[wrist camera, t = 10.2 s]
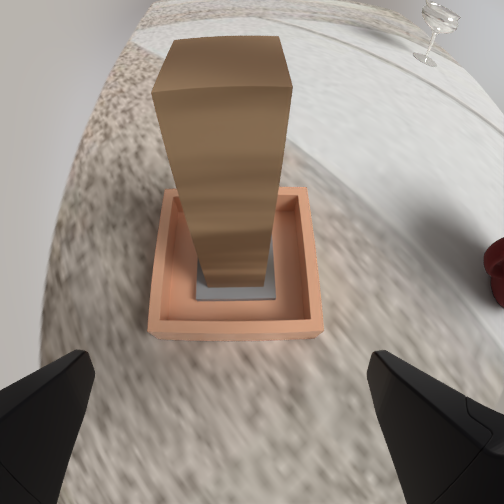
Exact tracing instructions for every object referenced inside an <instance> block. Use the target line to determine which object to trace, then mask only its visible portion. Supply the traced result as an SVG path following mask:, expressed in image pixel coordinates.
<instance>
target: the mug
mask: <svg viewBox="0 0 504 504" xmlns="http://www.w3.org/2000/svg"><path fill="white" fill-rule="evenodd" d="M484 267H485V270H486V272H487V273H488V274H489V275H490V276H491V288H492V292H493V295H494V297H495V299H496V301H497V302H498V303H499V304H500V305H501V306H502V307H503V308H504V237H503V238H501V239H499V240H497V241H496V242H494V243H493V244H492V245H491V246H490V247H489V248H488V249H487V250H486V252H485V254H484Z"/></svg>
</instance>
